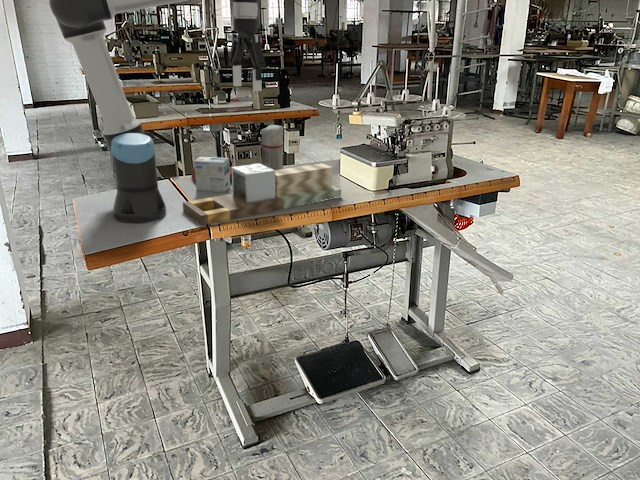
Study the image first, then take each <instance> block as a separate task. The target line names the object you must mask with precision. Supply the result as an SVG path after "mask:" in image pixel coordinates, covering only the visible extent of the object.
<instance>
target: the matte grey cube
mask: <svg viewBox="0 0 640 480" xmlns="http://www.w3.org/2000/svg"><path fill="white" fill-rule="evenodd" d="M231 167H232V178H231V186H232V187H231V189H232V191H231V192H232V193H231V194H233V196H234V197H235V196H241V195H246V204H247V205H248V204H253V203H259V202H264V201H270V200H275V170H273V169H271V168H269V167H266V166H264V165H262V163H251V164H245V165H238V166H231Z"/></svg>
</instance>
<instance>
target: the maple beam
mask: <svg viewBox="0 0 640 480" xmlns="http://www.w3.org/2000/svg"><path fill="white" fill-rule="evenodd" d="M332 186H333V166H331V165H328V164H325V163H322V162H321V163H314V164H308V165H302V166H294V167H287V168H283V169H280V170H275V196H277V197H279V196H284V195H290V194H295V193H301V192H306V191H312V190H317V189H323V188H328V187H332Z"/></svg>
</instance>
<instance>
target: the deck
mask: <svg viewBox="0 0 640 480" xmlns="http://www.w3.org/2000/svg"><path fill="white" fill-rule="evenodd" d="M339 196H341V197H342V189H340V188H339V187H336V186H334V185H332V187H328V188H323V189H317V190H312V191H306V192H301V193H295V194H290V195H284V196H279V197H277V196H275V200H270V201H264V202H259V203H253V204H248V205H247V204H246V195H241V196H235V197H234V196H233V194H232V193H230V194H223V195H218V196H212V197H206V198H205V197H204V198H198V199H194V200H188V201H183V202H182V210H183V213H185V214H186V215H187V216H189V217H190V218H192V219H193V220H194V221H196V222H197V223H198V224H199V225H201V226H206V225H210V224H217V223H220V222H221V223H222V222H227V221H231V220H237V219H242V218H246V217H251V216H256V215H262V214H266V213H267V214H268V213H270V212H271V211H272V212H276V210H277V211H281V209H282V210H287V209H292V208H296V206H297V207H300V206H299V205H302V206H305V205H304V204H307V205H310V204H309V203H312V202H316V201H320V200H325V199H330V198H334V197H339ZM312 204H313V203H312Z"/></svg>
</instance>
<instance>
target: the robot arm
mask: <svg viewBox="0 0 640 480" xmlns="http://www.w3.org/2000/svg"><path fill="white" fill-rule="evenodd" d="M48 1H49V7H50V10H51V12H52V14H53V15H54V17H55V19H56V23H58V25H57V26H58V27H59V29H60V31H61V34H62V36H63V39H64V40H65V41H66V42H68V43H70V44H71V45H73V46H72V47H73V49H74V52H75V54H76V56H77V59H78V61H79V64H80V67H81V70H82V71H83V74H84V76H85V77H84V78H85V79H86V82H87V84H88V87H89V89H90V91H91V93H92V96H93V99H94V101H95V103H96V106H97V109H98V111H99V114H100V116H101V119H102V121H103V124H104V129H103V130H102V132H101V133H102V135H103V137H104V141H105V142H106V145H107V147H108V150H109V154H110V156H111V159H112V163H113V168H114V169H113V170H114V179H115V185H116V195H115V198H114V204H113V208H112V212H113V213H112V214H113V217H114V219H116V220H117V221H119V222H123V223H131V224H133V223H134V224H135V223H145V222H146V223H147V222H152V221H156V220H159V219H161V218H163V217H164V216H165V215H166V214H167V208H166V203H165V201H164V199H163V196H162V194H161V192H160V189H159V185H158V183H159V182H158V176H157V175H158V173H157V165H156V163H157V162H156V147H155V143H154V140H153V138H152V137H151V136H149V135H148V134H145V132H144V129H143V126H142V123H141V121H139V120H137V119H136V118H134V115H133V114H132V111H131V107H130V106H129V103H128V100H127V97H126V95H125V94H126V93H125V91H124V90H123V89H124V88H123V86H122V84H121V83H122V82H121V81H120V78H119V76H118V72H117V70H116V67H115V65H114V63H113V59H112V57H111V54H110V51H109V49H108V47H107V43H106V40H105V38H104V36H105V34H106V31H107V28H106V25H105V22H104V21H107V20H108V21H109V20H113V19H114V17H115V16H116V15H117V14H123V13H129V12H134V11H138V10H144V9H150V8H155V7H159V6H166V5H171V4H172V5H173V4H177V3H182V2H186V1H188V2H189V0H48ZM258 10H259V7H258V0H232V11H233V12H232V15H233V17H234V19H232V21H233V30H234V31H235V32H237V33H233V34H232V42H231V47H230V52H229V57H228V62H229V64H231V66H232V82H233V87H242V63H241V62H242V59H243V56H244V54H245V52H247V53H248V55H249V58H250V61H251V63H252V66H253V67H252V91H253V92H262V91H263V89H262V88H263V87H262V75H263V74H262V70H263V69H265V68H266V67H267V66H266V65H267V64H266V61H265V57H264V52H263V48H262V43H261V36H260V35H259V34H258V35H257V34H255V33H256V32H257V33H258V31H259V20H258V19H257V18H258Z"/></svg>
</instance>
